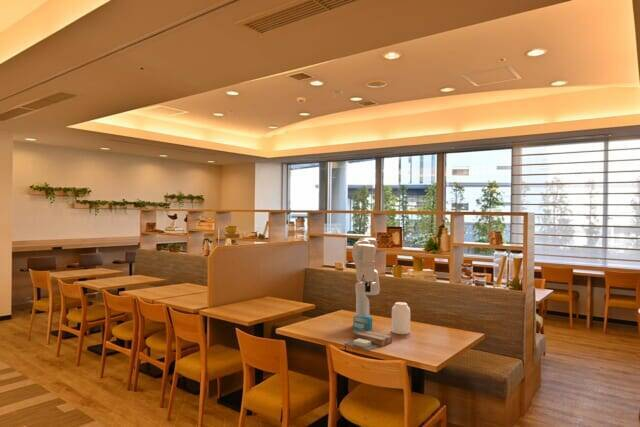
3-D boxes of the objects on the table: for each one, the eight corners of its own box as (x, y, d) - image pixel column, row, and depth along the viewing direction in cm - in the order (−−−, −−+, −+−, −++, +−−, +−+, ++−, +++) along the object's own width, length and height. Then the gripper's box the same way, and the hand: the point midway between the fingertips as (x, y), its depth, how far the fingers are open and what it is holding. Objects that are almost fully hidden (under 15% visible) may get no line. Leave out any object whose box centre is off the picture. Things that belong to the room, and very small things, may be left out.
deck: (365, 335, 286) (365, 329, 286) (391, 342, 273) (392, 335, 273) (354, 339, 277) (355, 333, 277) (381, 346, 264) (381, 339, 264)
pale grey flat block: (353, 340, 266) (353, 344, 266) (365, 343, 261) (365, 347, 261) (359, 338, 271) (359, 342, 271) (371, 341, 265) (371, 345, 265)
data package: (353, 333, 292) (353, 315, 291) (355, 331, 295) (356, 314, 295) (369, 336, 286) (369, 318, 286) (372, 334, 290) (372, 316, 289)
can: (413, 332, 296) (414, 303, 296) (401, 335, 288) (402, 305, 288) (399, 328, 305) (400, 300, 305) (387, 331, 298) (388, 302, 297)
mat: (356, 339, 277) (356, 339, 277) (380, 346, 265) (380, 345, 265) (344, 344, 268) (344, 343, 268) (368, 350, 256) (368, 350, 256)
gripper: (370, 262, 294) (369, 289, 294) (356, 264, 282) (356, 292, 282) (379, 263, 289) (378, 291, 289) (366, 265, 277) (365, 294, 278)
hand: (367, 291), depth 286 cm, fingers closed
